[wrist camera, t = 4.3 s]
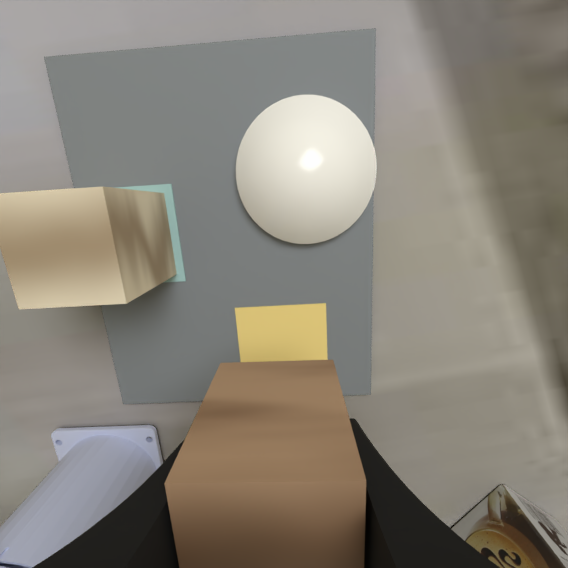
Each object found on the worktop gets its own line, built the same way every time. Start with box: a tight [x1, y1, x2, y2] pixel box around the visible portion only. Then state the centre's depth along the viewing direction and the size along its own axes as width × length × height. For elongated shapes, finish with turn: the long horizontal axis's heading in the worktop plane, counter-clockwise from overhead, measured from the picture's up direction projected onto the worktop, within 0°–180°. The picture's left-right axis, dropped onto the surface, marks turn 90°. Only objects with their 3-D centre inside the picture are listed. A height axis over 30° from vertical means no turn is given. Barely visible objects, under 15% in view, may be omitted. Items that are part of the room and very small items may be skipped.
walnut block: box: [164, 360, 366, 568], centre depth 11 cm, size 5×5×6 cm
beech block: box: [0, 186, 177, 309], centre depth 16 cm, size 5×5×6 cm
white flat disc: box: [236, 95, 377, 244], centre depth 17 cm, size 8×8×1 cm
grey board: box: [44, 28, 376, 404], centre depth 19 cm, size 22×18×1 cm
